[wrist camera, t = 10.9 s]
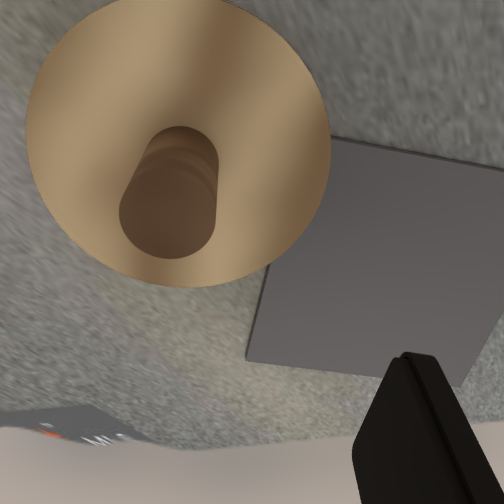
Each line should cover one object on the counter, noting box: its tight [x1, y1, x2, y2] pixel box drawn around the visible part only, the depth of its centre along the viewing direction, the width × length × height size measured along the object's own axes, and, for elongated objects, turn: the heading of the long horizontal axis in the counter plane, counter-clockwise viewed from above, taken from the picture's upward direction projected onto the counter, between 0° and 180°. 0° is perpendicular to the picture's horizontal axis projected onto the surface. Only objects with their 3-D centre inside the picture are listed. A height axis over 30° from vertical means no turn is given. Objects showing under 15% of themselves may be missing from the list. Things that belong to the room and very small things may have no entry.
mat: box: [245, 136, 504, 387], centre depth 30 cm, size 16×16×1 cm
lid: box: [26, 0, 331, 288], centre depth 18 cm, size 13×13×6 cm
